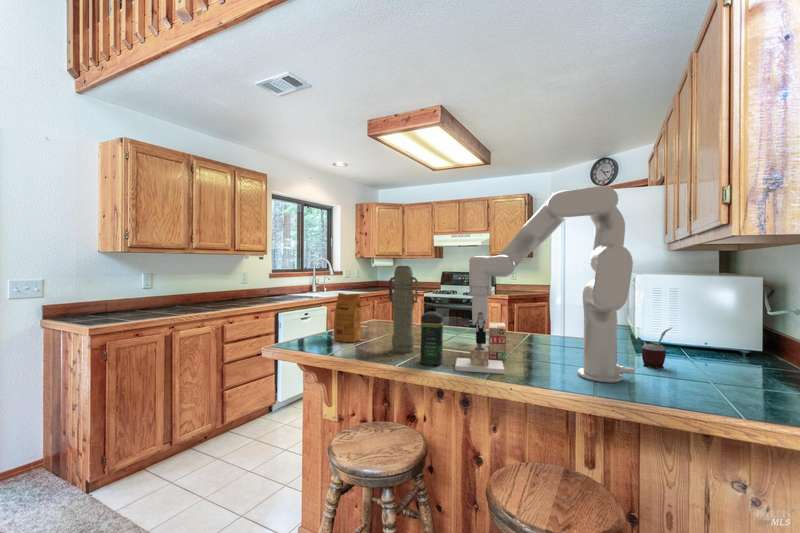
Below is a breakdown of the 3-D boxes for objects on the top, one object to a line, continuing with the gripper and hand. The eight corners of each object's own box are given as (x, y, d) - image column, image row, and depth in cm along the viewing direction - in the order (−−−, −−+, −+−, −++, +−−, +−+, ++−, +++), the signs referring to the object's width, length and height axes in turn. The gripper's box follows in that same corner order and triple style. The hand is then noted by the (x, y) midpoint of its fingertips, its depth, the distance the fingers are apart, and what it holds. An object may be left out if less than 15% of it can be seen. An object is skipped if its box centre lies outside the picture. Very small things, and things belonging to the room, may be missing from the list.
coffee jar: (440, 366, 129) (441, 314, 129) (418, 365, 131) (419, 313, 131) (444, 359, 139) (444, 310, 138) (423, 358, 141) (423, 309, 140)
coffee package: (340, 337, 178) (341, 291, 178) (364, 339, 174) (364, 292, 174) (329, 341, 169) (330, 293, 169) (354, 343, 164) (354, 294, 164)
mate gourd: (638, 363, 136) (639, 322, 136) (664, 365, 133) (664, 324, 133) (645, 369, 129) (646, 326, 129) (672, 371, 126) (672, 327, 126)
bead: (488, 361, 131) (488, 347, 131) (488, 366, 125) (488, 351, 125) (470, 360, 132) (471, 346, 132) (470, 365, 127) (470, 350, 127)
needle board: (502, 364, 133) (502, 338, 132) (504, 373, 122) (504, 345, 122) (457, 361, 136) (457, 336, 136) (455, 370, 125) (455, 342, 125)
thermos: (389, 347, 158) (390, 265, 157) (417, 348, 156) (418, 266, 156) (386, 352, 149) (387, 265, 148) (416, 353, 148) (417, 266, 147)
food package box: (489, 346, 161) (489, 318, 161) (504, 347, 160) (504, 319, 160) (488, 359, 141) (489, 327, 140) (505, 360, 139) (506, 327, 139)
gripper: (470, 289, 138) (470, 335, 138) (468, 293, 121) (469, 345, 121) (490, 289, 136) (491, 336, 136) (492, 293, 119) (492, 346, 119)
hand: (480, 340), depth 129 cm, fingers open, 9 cm apart
